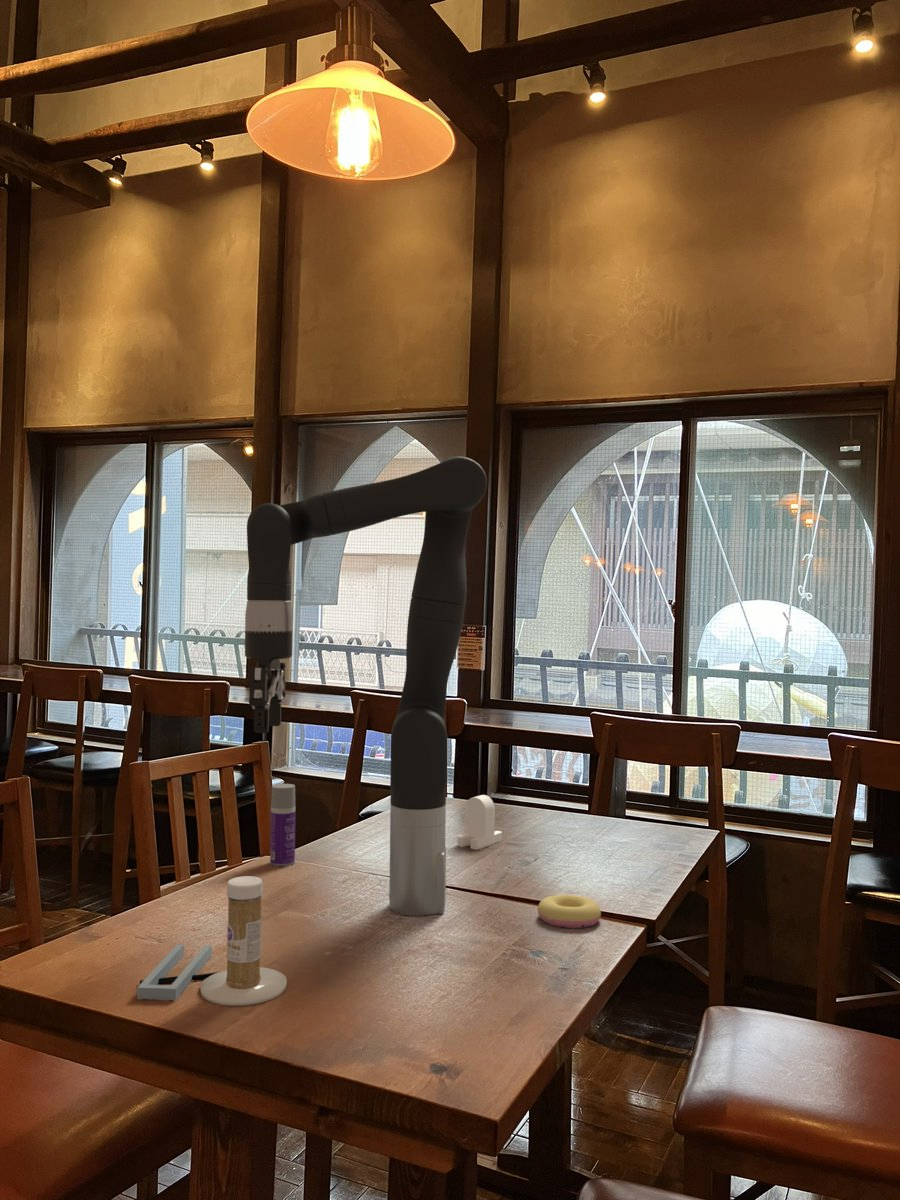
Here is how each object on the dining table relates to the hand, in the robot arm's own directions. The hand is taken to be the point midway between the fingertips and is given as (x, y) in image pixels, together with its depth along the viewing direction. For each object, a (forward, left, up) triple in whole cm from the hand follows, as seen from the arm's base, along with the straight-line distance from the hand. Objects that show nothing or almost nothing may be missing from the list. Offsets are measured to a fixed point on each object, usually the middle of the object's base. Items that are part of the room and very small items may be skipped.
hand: (267, 729), depth 150 cm
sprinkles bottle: (-4, +28, -30) cm, 41 cm away
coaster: (-4, +28, -30) cm, 41 cm away
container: (+4, -30, -30) cm, 43 cm away
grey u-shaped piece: (+6, +25, -30) cm, 39 cm away
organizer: (-34, -49, -30) cm, 67 cm away
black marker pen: (+4, +26, -31) cm, 40 cm away
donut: (-49, -2, -30) cm, 58 cm away
